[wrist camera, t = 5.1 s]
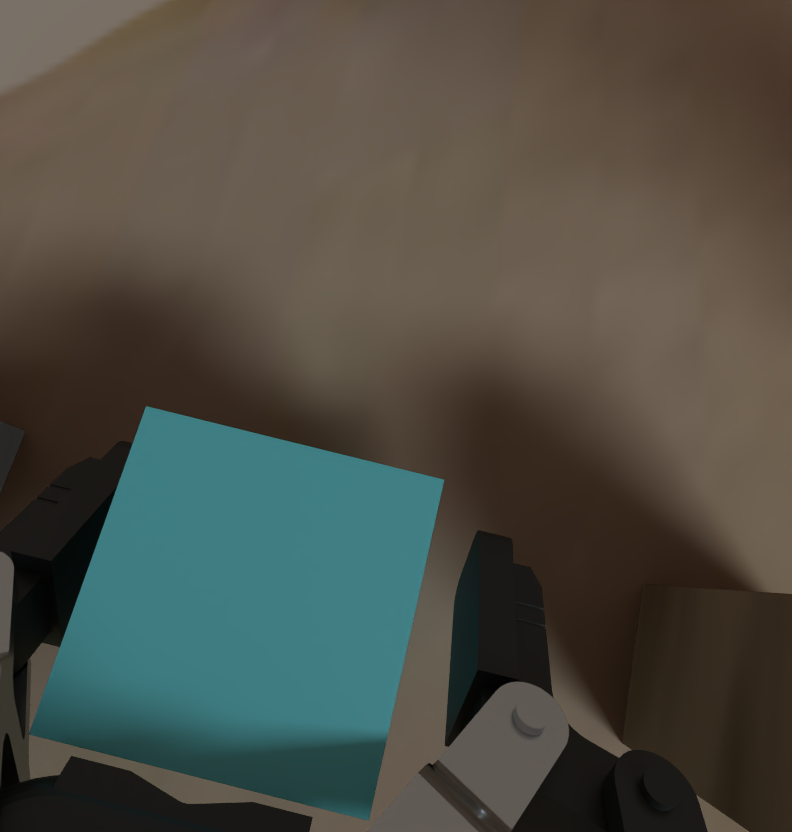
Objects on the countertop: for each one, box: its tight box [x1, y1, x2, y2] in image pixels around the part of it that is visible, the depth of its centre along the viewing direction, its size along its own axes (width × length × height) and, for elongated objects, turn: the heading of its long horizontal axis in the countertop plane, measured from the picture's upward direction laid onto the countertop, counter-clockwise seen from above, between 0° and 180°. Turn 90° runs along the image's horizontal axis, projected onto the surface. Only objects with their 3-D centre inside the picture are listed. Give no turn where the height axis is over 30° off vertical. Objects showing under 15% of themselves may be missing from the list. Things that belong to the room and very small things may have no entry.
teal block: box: [29, 406, 444, 820], centre depth 13 cm, size 4×4×10 cm
